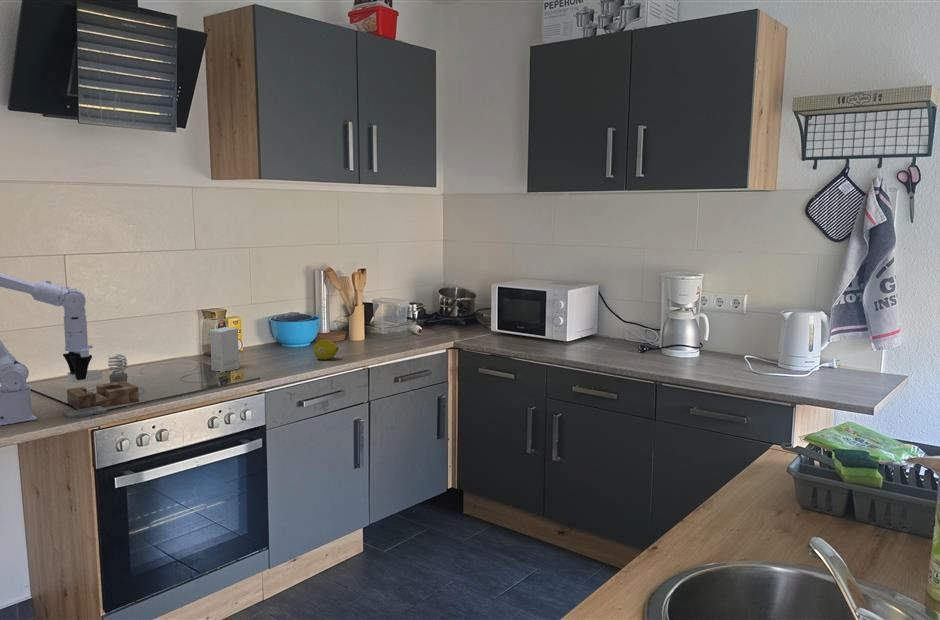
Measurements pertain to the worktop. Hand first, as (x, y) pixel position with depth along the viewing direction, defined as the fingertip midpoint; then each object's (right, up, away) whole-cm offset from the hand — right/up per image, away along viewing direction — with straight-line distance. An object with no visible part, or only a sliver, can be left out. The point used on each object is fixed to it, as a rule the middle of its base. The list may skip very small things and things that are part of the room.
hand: (78, 378), depth 215 cm
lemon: (+56, 0, +82) cm, 99 cm away
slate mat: (+1, -10, +1) cm, 10 cm away
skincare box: (+22, -3, +62) cm, 66 cm away
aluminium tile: (+1, -1, +1) cm, 2 cm away
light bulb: (-2, -7, +30) cm, 31 cm away
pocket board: (0, -9, +14) cm, 16 cm away
